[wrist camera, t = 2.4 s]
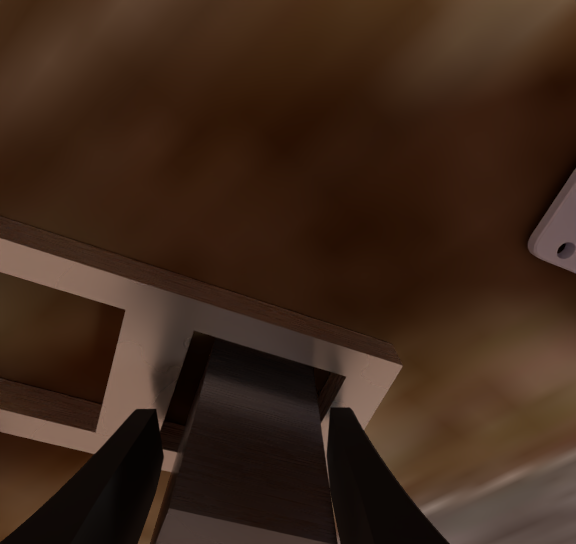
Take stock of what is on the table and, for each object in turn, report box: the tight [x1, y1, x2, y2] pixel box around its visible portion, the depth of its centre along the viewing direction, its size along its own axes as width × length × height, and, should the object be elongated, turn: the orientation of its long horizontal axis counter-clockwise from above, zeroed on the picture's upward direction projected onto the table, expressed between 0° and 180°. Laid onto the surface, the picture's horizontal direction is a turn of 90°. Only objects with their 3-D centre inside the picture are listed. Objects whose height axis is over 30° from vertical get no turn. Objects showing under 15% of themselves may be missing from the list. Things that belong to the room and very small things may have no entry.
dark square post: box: [150, 337, 337, 544], centre depth 11 cm, size 4×4×6 cm
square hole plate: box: [0, 216, 403, 486], centre depth 12 cm, size 22×7×1 cm, turn 69°
